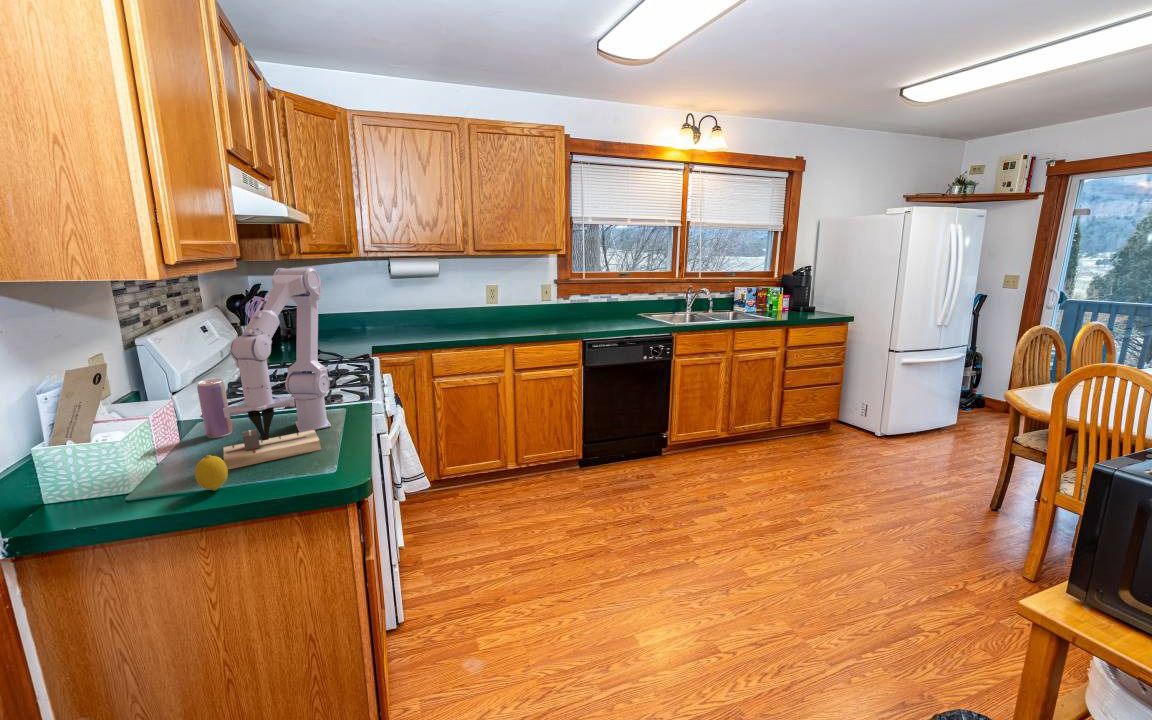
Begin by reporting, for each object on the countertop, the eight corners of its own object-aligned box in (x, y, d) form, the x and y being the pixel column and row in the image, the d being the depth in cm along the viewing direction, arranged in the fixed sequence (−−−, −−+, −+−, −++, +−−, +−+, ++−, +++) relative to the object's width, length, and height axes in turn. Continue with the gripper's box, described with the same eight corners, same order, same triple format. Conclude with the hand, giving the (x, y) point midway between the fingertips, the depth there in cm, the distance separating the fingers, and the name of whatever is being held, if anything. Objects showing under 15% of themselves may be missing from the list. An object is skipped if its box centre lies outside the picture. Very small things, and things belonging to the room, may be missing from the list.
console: (225, 456, 125) (223, 446, 125) (315, 438, 136) (314, 429, 136) (225, 470, 118) (223, 459, 118) (320, 449, 129) (319, 439, 128)
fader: (244, 444, 125) (242, 431, 124) (258, 442, 127) (256, 428, 126) (245, 450, 122) (243, 436, 121) (260, 447, 123) (257, 433, 123)
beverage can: (219, 439, 136) (209, 385, 133) (200, 438, 137) (190, 384, 134) (238, 431, 142) (229, 379, 138) (220, 429, 143) (210, 378, 140)
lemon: (221, 482, 112) (214, 448, 110) (236, 487, 110) (229, 452, 108) (193, 493, 107) (186, 457, 106) (208, 499, 105) (201, 463, 103)
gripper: (220, 395, 115) (230, 451, 118) (292, 384, 123) (300, 437, 126) (219, 387, 121) (229, 441, 124) (289, 377, 129) (296, 428, 132)
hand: (265, 438), depth 126 cm, fingers closed
